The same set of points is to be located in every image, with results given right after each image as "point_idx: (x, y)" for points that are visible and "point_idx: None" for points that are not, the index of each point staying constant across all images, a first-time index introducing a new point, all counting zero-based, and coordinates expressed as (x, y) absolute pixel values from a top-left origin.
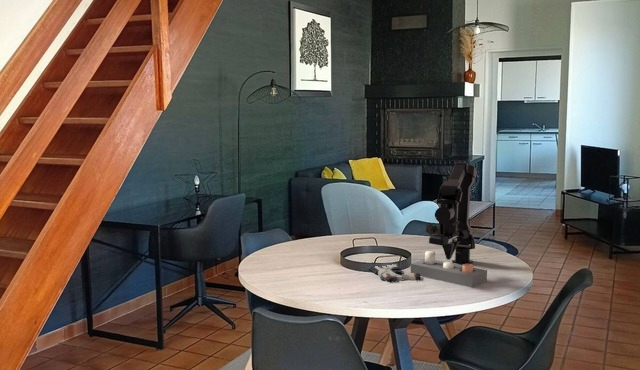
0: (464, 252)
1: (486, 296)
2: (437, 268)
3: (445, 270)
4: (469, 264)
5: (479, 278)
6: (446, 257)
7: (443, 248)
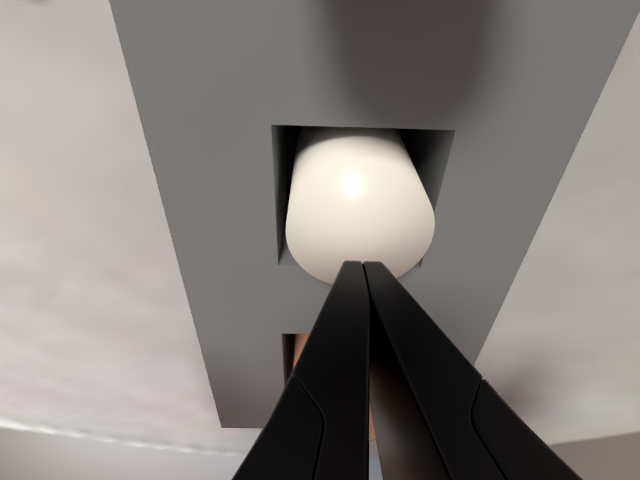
0: None
1: (167, 429)
2: (180, 141)
3: (191, 251)
4: (369, 424)
5: None
6: (332, 285)
7: (246, 456)
